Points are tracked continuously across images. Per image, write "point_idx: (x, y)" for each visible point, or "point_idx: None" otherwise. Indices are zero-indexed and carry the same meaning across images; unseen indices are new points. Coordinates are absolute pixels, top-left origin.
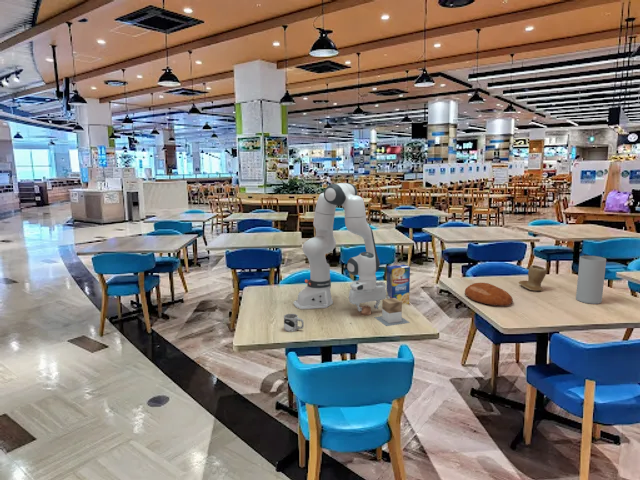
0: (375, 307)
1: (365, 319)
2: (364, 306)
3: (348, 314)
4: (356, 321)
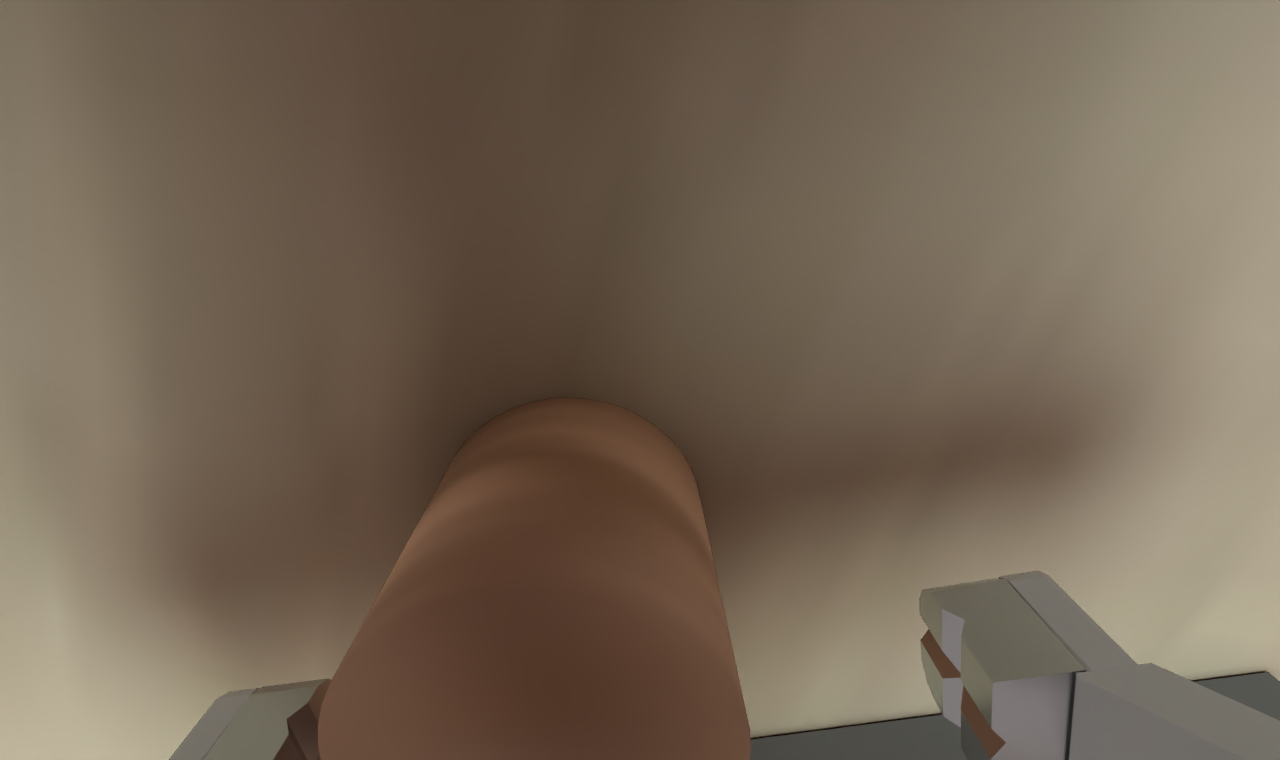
0: (952, 705)
1: None
2: (492, 674)
3: (57, 279)
4: None
